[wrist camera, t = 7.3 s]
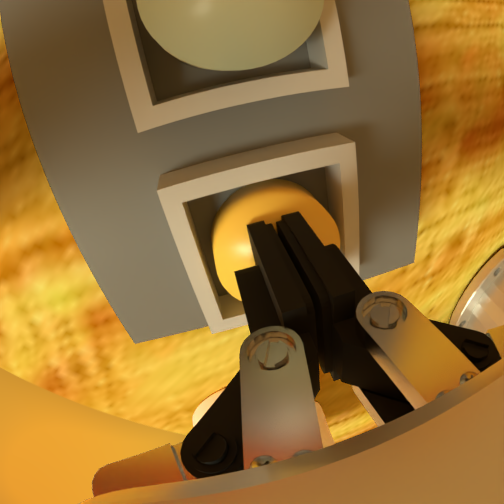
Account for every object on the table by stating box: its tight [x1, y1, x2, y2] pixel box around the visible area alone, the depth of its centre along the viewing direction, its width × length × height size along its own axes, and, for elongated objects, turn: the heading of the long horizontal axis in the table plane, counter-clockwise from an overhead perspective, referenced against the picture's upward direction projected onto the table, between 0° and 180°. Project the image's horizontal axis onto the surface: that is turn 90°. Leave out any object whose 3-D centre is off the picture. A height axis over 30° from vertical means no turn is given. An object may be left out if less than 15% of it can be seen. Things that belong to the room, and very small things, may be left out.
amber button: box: [211, 179, 340, 301], centre depth 11 cm, size 4×4×2 cm
